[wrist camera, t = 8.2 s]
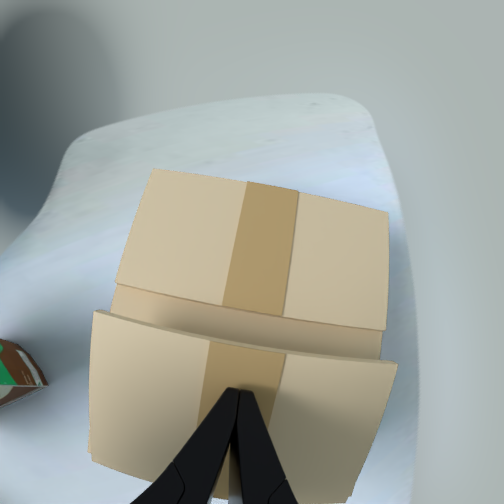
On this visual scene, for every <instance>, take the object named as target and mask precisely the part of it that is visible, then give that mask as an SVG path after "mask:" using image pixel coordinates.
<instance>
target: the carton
mask: <svg viewBox="0 0 504 504" xmlns="http://www.w3.org/2000/svg"><path fill="white" fill-rule="evenodd" d="M115 283H117V285H116V289H115V293H114V297H113V301H112V305H111V309H110V313H114V314H117V315H121V316H125V317H128V318H132V319H136V320H139V321H143V322H147V323H151V324H155V325H159V326H163V327H168V328H172V329H176V330H181V331H185V332H190V333H194V334H199V335H204V336H209V337H214V338H219V339H224V340H229V341H234V342H240V343H246V344H251V345H257V346H263V347H270V348H276V349H283V350H290V351H297V352H305V353H313V354H321V355H330V356H339V357H349V358H360V359H373V360H380V352H381V342H382V332H383V331H385V330H386V321H387V306H388V284H389V221H388V212H384V211H380V210H376V209H372V208H368V207H364V206H360V205H356V204H351V203H347V202H343V201H338V200H334V199H330V198H325V197H320V196H316V195H311V194H306V193H301V192H298V191H296V190H291V189H286V188H281V187H276V186H271V185H265V184H260V183H254V182H248V181H247V182H243V181H237V180H231V179H225V178H219V177H212V176H205V175H199V174H192V173H185V172H177V171H169V170H162V169H153V170H152V172H151V175H150V177H149V180H148V183H147V185H146V188H145V190H144V193H143V196H142V198H141V201H140V204H139V207H138V209H137V212H136V215H135V218H134V221H133V224H132V227H131V230H130V233H129V236H128V239H127V242H126V245H125V249H124V252H123V255H122V258H121V262H120V265H119V269H118V272H117V276H116V279H115ZM88 453H91V441H90V430H89V440H88ZM354 485H355V484H354ZM353 489H354V486H353V488H352V491H351V493H350V495H349V496H351V495H352V492H353Z"/></svg>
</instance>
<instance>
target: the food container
mask: <svg viewBox="0 0 504 504" xmlns="http://www.w3.org/2000/svg"><path fill="white" fill-rule="evenodd" d="M47 386H49V385H48V383H47V381H46V379H45V377H44V375H43V373H42V371H41V369H40V368H39V367H38V365H37V364H36V363H35V361H34V360H33V358H32V357H31V356H30V354H28V353H27V352H26V351H25V350H24V349H22V348H21V347H20V346H19V345H18V344H15V343H12V342H9V341H6V340H3V339H0V408H2V407H4V406H7V405H9V404H11V403H13V402H15V401H17V400H19V399H22V398H24V397H26V396H28V395H30V394H32V393H34V392H36V391H39V390H41V389H43V388H45V387H47Z"/></svg>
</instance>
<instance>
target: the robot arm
mask: <svg viewBox="0 0 504 504" xmlns="http://www.w3.org/2000/svg"><path fill="white" fill-rule="evenodd" d="M229 445H230V448H229ZM228 449H229V493H228V504H298V502H297V500H296V498H295V496H294V494H293V491H292V489H291V487H290V484H289V482H288V480H287V479H286V475H285V473H284V470H283V468H282V465H281V463H280V460H279V458H278V455H277V453H276V450H275V448H274V445H273V442H272V440H271V437H270V435H269V432H268V430H267V427H266V424H265V422H264V419H263V416H262V414H261V411H260V408H259V406H258V403H257V400H256V397H255V395H254V392H253V391H251V390H245V389H241V390H239V389H238V388H233V387H227V388H226V389H225V390H224V392H223V393H222V395H221V396H220V397H219V399H218V400H217V402H216V403H215V404H214V406H213V407H212V408H211V410H210V411H209V413H208V414H207V415H206V417H205V418H204V419H203V421H202V422H201V423H200V425H199V426H198V427H197V429H196V430H195V431H194V433H193V434H192V435H191V437H190V438H189V439H188V441H187V442H186V443H185V445H184V446H183V447H182V449H181V450H180V451H179V453H178V454H177V455H176V456H175V458H174V459H173V462H171V463H170V464H169V465H168V466H167V468H166V469H165V470H164V471H163V472H162V474H161V475H160V476H159V477H158V478H157V479H156V480H155V481H154V482H153V483H152V484H151V485H150V486H149V487H148V488H147V489H146V490H145V491H144V492H143V493H142V494H141V495H139V496H138V497H137V498H136V499H135V500H134V501H132V502H131V503H130V504H210V503H211V500H212V497H213V495H214V492H215V489H216V486H217V483H218V480H219V477H220V474H221V471H222V468H223V465H224V462H225V459H226V455H227V452H228Z"/></svg>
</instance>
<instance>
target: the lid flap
mask: <svg viewBox="0 0 504 504" xmlns="http://www.w3.org/2000/svg"><path fill="white" fill-rule="evenodd" d="M397 368H398V364H397V363H395V362H394V361H388V360H373V359H360V358H349V357H339V356H330V355H321V354H313V353H305V352H297V351H290V350H283V349H276V348H270V347H263V346H257V345H251V344H246V343H240V342H234V341H229V340H224V339H219V338H214V337H209V336H204V335H199V334H194V333H190V332H185V331H181V330H176V329H172V328H168V327H163V326H159V325H155V324H151V323H147V322H143V321H139V320H136V319H132V318H128V317H125V316H121V315H117V314H114V313H110V312H107V311H103V310H96V311H94V312H93V322H92V333H91V348H90V368H89V422H90V441H91V454H92V461H93V462H96V463H98V464H101V465H103V466H106V467H108V468H111V469H114V470H116V471H119V472H122V473H125V474H128V475H131V476H134V477H137V478H140V479H143V480H146V481H150V482H154V481H155V480H156V479H157V478H158V477H159V476H160V475H161V474H162V472H163V471H164V470H165V469H166V468H167V466H168V465H169V464H170V463H171V462H173V459H174V458H175V456H176V455H177V454H178V453H179V451H180V450H181V449H182V447H183V446H184V445H185V443H186V442H187V441H188V439H189V438H190V437H191V435H192V434H193V433H194V431H195V430H196V429H197V427H198V426H199V425H200V423H201V422H202V421H203V419H204V418H205V417H206V415H207V414H208V413H209V411H210V410H211V408H212V407H213V406H214V404H215V403H216V402H217V400H218V399H219V397H220V396H221V395H222V393H223V392H224V390H225V389H226V388H227V387H233V388H238V389H239V390H241V389H245V390H251V391H253V392H254V395H255V397H256V400H257V403H258V406H259V408H260V411H261V414H262V416H263V419H264V422H265V424H266V427H267V430H268V432H269V435H270V437H271V440H272V442H273V445H274V448H275V450H276V453H277V455H278V458H279V460H280V463H281V465H282V468H283V470H284V473H285V475H286V479H287V480H288V482H289V484H290V487H291V489H292V491H293V494H294V496H295V498H296V500H297V502H298V504H335V503H345V502H346V500H347V498H348V497H349V495H350V493H351V491H352V488H353V486H354V484H355V482H356V480H357V478H358V476H359V474H360V471H361V469H362V467H363V465H364V462H365V460H366V458H367V455H368V453H369V451H370V448H371V446H372V443H373V441H374V438H375V435H376V433H377V430H378V427H379V425H380V422H381V419H382V416H383V413H384V410H385V407H386V404H387V401H388V398H389V395H390V392H391V389H392V385H393V382H394V379H395V375H396V371H397ZM229 448H230V445H229ZM228 493H229V449H228V452H227V455H226V459H225V462H224V465H223V468H222V471H221V474H220V477H219V480H218V483H217V486H216V489H215V492H214V495H213V498H219V499H226V500H228Z"/></svg>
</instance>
